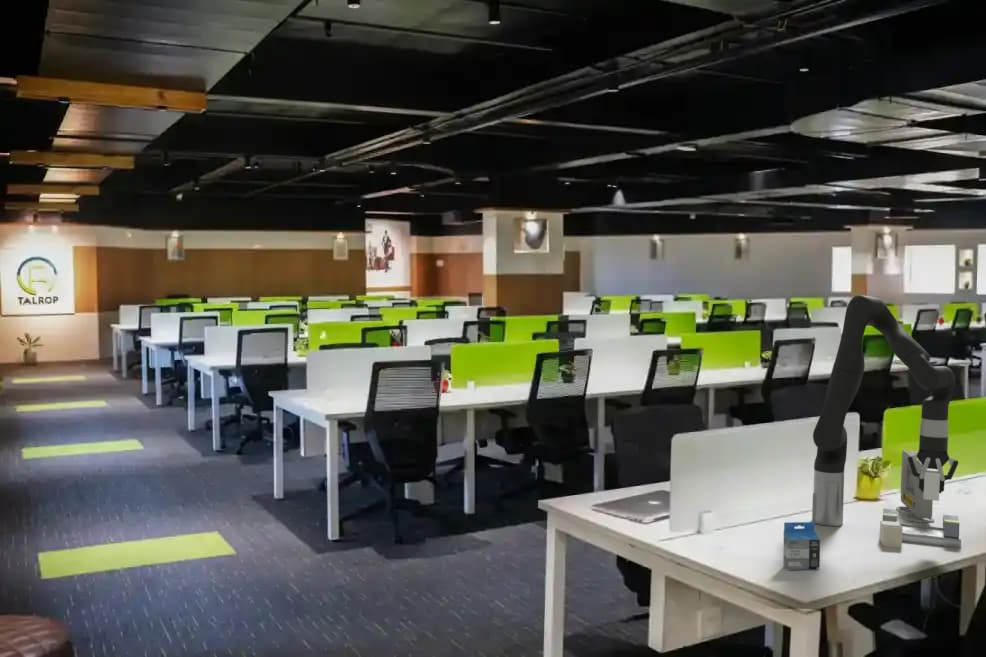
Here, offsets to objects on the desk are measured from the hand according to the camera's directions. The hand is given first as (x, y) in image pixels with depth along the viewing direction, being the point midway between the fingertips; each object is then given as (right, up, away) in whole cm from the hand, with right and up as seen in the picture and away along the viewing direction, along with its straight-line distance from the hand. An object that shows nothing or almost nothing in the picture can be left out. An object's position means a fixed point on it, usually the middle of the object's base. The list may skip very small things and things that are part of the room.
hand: (931, 491), depth 265 cm
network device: (+14, -15, +40) cm, 45 cm away
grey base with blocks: (+2, -16, +12) cm, 20 cm away
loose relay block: (-10, -17, +5) cm, 20 cm away
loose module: (0, -2, 0) cm, 2 cm away
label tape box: (-45, -18, -19) cm, 52 cm away
